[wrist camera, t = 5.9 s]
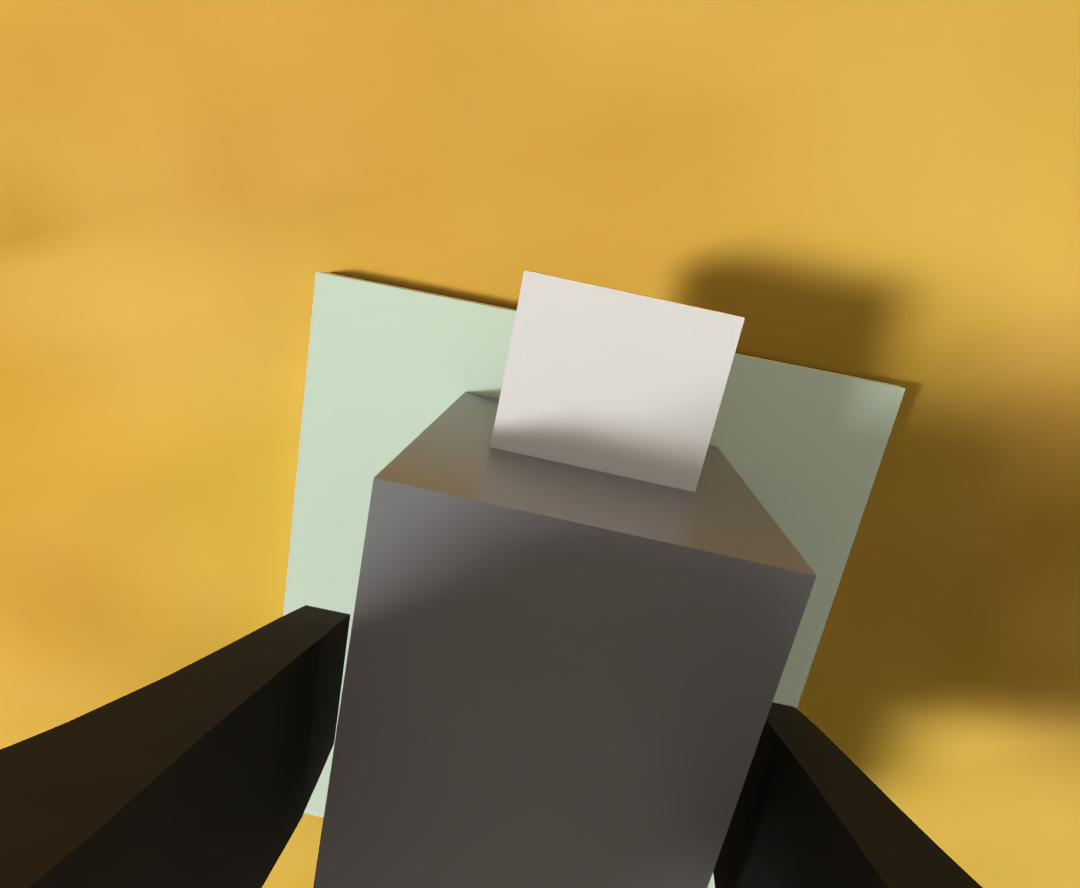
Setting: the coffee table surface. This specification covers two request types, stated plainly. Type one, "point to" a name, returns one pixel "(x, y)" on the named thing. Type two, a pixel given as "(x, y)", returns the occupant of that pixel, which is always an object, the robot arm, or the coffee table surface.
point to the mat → (478, 367)
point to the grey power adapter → (563, 618)
